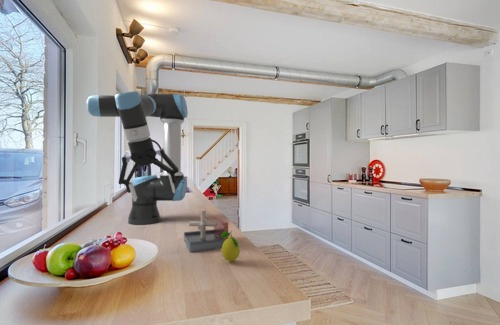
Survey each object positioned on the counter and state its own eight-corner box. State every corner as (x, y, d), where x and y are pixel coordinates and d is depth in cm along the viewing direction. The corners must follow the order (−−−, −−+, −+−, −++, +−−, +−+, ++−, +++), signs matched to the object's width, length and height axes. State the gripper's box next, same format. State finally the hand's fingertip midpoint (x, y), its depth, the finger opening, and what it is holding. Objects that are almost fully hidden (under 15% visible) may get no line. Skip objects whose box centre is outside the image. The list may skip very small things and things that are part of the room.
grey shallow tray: (184, 240, 102) (184, 217, 102) (217, 237, 107) (217, 215, 107) (190, 252, 89) (190, 225, 89) (228, 247, 94) (228, 222, 94)
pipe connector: (214, 241, 92) (214, 213, 92) (186, 241, 93) (186, 213, 93) (218, 234, 102) (218, 208, 102) (193, 233, 103) (193, 208, 103)
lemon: (220, 258, 84) (220, 227, 84) (238, 257, 84) (239, 226, 84) (220, 266, 77) (220, 232, 77) (240, 266, 77) (240, 232, 77)
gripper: (96, 148, 82) (116, 208, 89) (176, 134, 87) (189, 191, 94) (103, 143, 89) (121, 199, 96) (176, 130, 94) (189, 184, 101)
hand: (155, 195), depth 95 cm, fingers open, 13 cm apart
